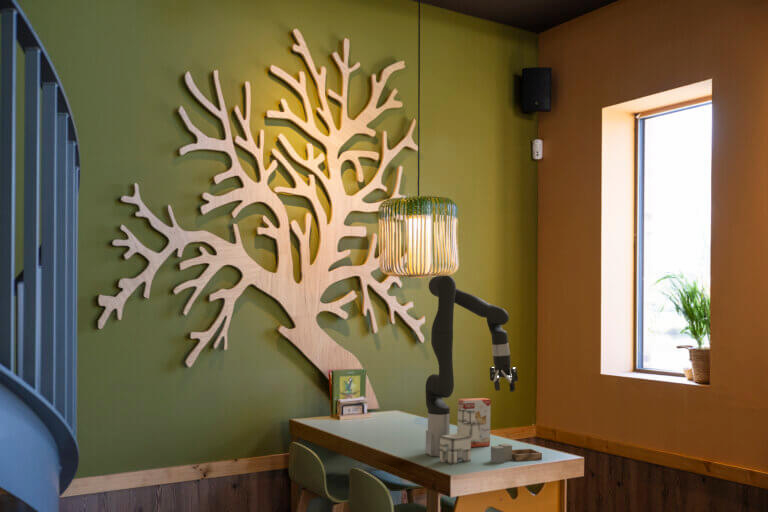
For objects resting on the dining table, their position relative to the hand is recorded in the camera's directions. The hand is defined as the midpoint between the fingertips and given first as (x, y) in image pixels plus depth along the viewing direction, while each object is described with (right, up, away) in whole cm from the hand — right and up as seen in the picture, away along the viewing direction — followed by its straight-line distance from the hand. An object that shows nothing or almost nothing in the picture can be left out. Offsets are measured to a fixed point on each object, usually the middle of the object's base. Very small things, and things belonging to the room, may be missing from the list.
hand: (505, 390), depth 322 cm
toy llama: (-24, -24, -26) cm, 42 cm away
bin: (+5, -24, -19) cm, 31 cm away
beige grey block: (-4, -24, -23) cm, 33 cm away
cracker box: (-13, -25, +4) cm, 29 cm away
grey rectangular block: (-7, -24, -27) cm, 37 cm away
